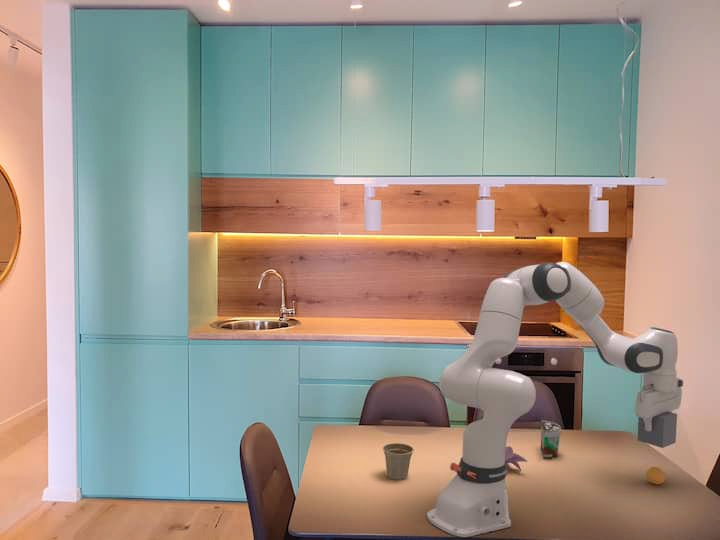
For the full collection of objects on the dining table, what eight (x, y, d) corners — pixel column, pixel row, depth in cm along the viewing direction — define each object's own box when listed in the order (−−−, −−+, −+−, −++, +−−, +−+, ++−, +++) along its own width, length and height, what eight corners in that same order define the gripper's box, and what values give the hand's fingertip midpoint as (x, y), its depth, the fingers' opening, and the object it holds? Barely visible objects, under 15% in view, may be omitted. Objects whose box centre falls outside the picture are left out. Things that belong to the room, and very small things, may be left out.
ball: (659, 474, 177) (667, 467, 179) (642, 468, 181) (651, 461, 183) (659, 489, 178) (668, 482, 180) (643, 483, 182) (652, 476, 184)
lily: (528, 482, 182) (535, 451, 185) (494, 468, 181) (502, 437, 184) (508, 479, 194) (516, 450, 197) (476, 466, 192) (484, 437, 195)
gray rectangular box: (662, 448, 175) (664, 418, 174) (637, 440, 181) (638, 411, 180) (675, 442, 179) (677, 413, 178) (650, 435, 185) (651, 407, 185)
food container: (563, 462, 196) (564, 432, 196) (543, 460, 197) (544, 430, 197) (558, 449, 208) (559, 421, 208) (540, 447, 209) (541, 419, 209)
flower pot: (419, 476, 182) (420, 448, 182) (399, 485, 176) (400, 456, 175) (395, 467, 189) (396, 440, 188) (375, 476, 182) (376, 448, 181)
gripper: (651, 389, 170) (649, 437, 171) (686, 380, 182) (684, 424, 183) (630, 384, 175) (628, 431, 176) (665, 375, 187) (663, 419, 188)
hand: (656, 427), depth 180 cm, fingers closed on gray rectangular box, 8 cm apart
